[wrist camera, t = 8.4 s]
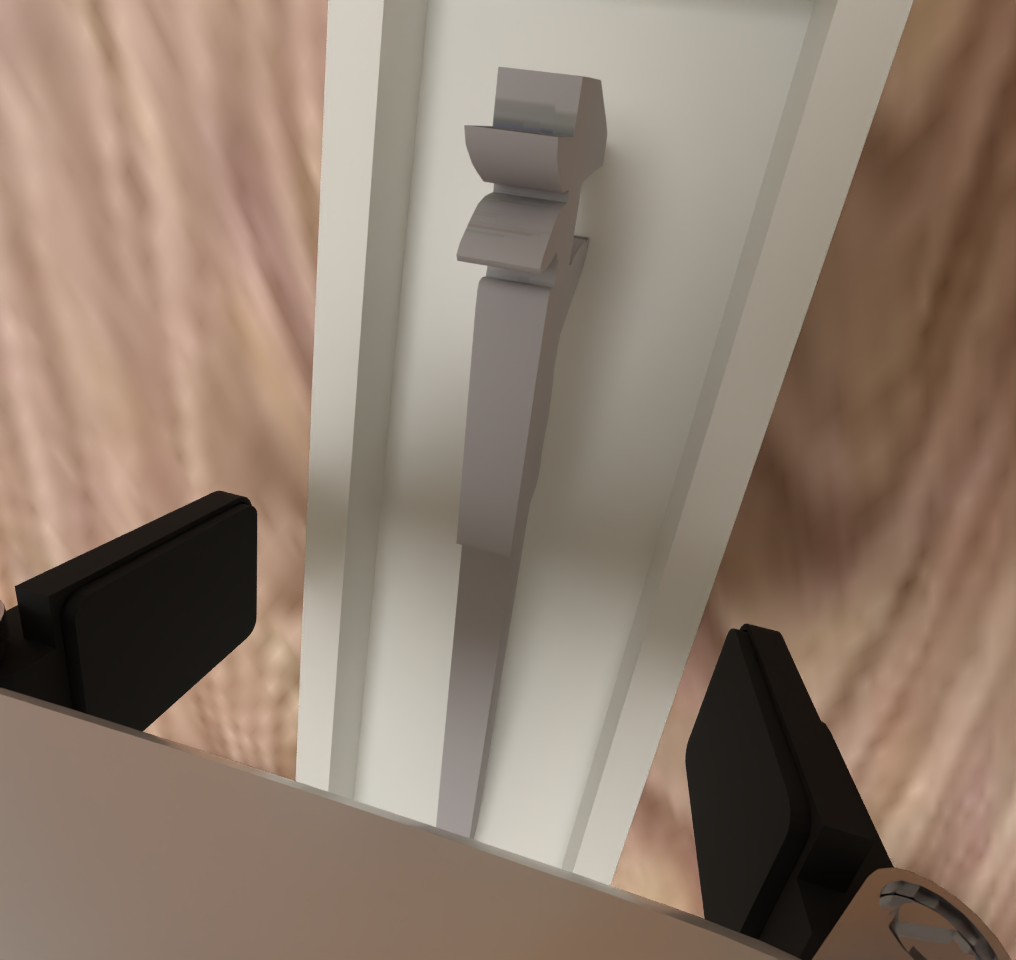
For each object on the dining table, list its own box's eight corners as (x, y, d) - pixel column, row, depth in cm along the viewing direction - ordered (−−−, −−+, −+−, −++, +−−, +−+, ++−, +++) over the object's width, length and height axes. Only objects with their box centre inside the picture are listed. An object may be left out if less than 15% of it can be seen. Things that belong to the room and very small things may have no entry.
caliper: (555, 133, 11) (471, -53, 5) (611, 140, 11) (589, -43, 5) (442, 846, 18) (352, 1111, 12) (474, 857, 18) (399, 1129, 12)
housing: (884, -47, 10) (967, -156, 7) (572, 927, 19) (565, 1016, 16) (133, -112, 12) (9, -214, 9) (183, 794, 21) (127, 857, 18)
